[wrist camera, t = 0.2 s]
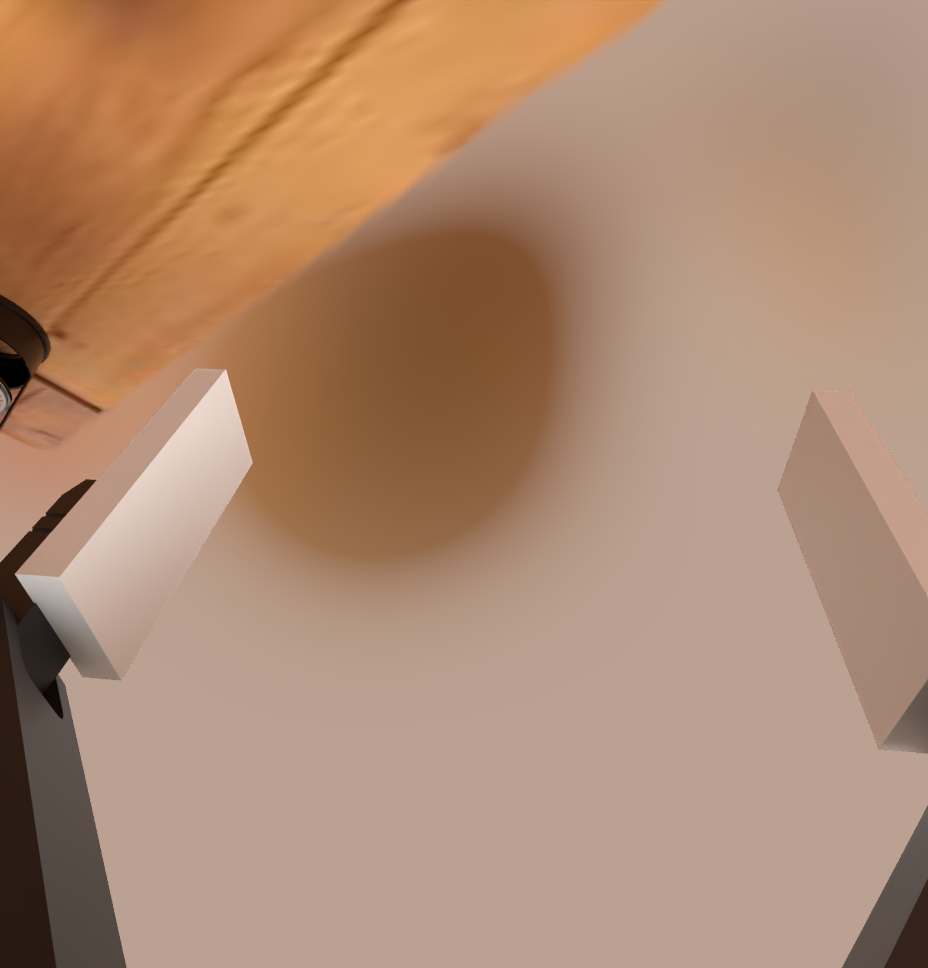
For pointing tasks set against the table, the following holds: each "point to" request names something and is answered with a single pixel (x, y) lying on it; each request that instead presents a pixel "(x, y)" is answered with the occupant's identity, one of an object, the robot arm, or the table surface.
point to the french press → (19, 352)
